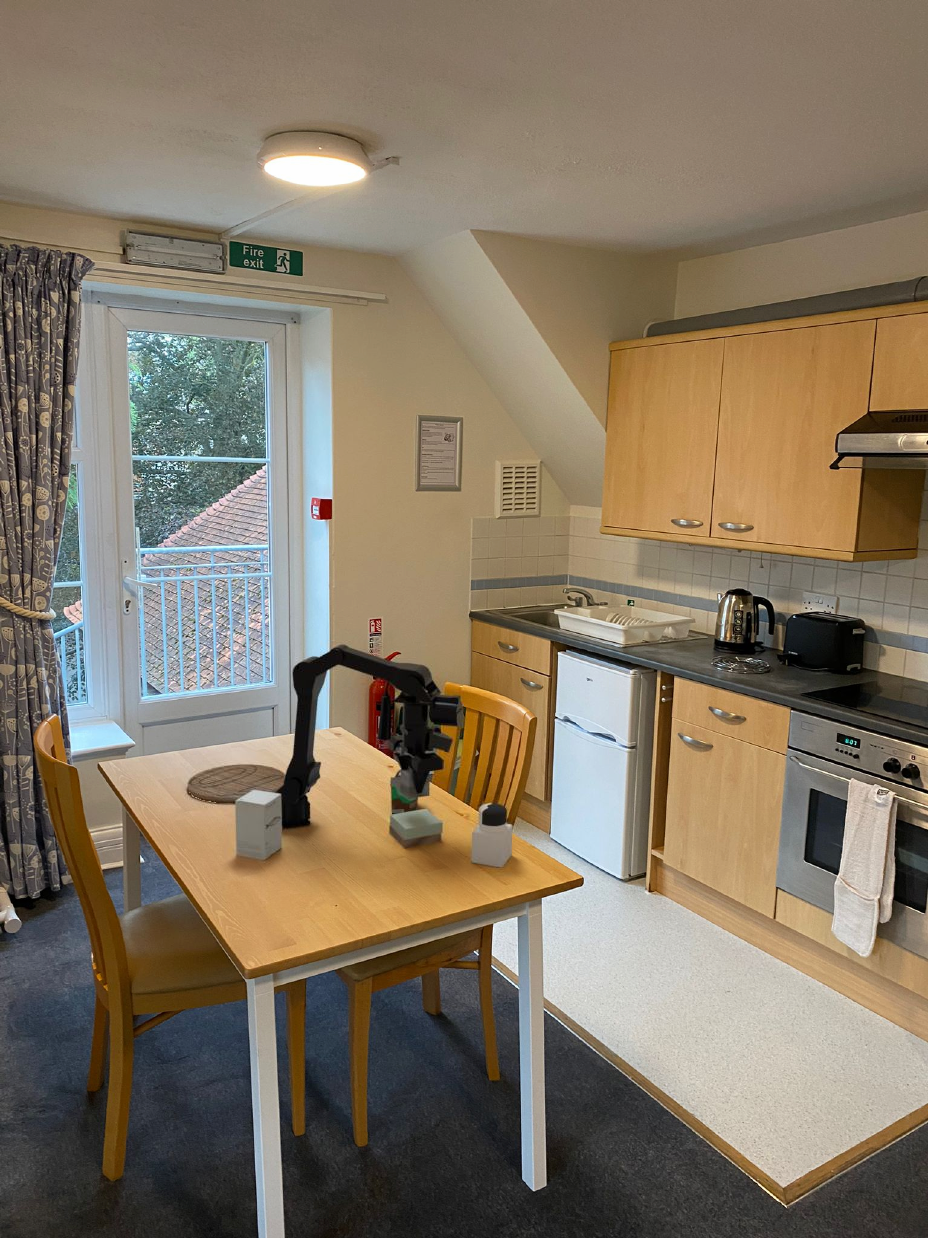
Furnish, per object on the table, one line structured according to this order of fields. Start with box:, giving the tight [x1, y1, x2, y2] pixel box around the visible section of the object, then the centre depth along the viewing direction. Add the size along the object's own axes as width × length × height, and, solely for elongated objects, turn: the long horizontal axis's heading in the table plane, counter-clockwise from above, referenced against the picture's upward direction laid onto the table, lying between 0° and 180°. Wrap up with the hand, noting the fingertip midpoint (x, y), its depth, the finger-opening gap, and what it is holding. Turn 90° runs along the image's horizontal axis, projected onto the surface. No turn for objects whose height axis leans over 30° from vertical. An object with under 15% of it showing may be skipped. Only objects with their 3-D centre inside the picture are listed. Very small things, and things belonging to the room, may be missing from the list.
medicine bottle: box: [470, 802, 513, 869], centre depth 201 cm, size 7×7×12 cm
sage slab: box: [389, 808, 444, 840], centre depth 212 cm, size 9×9×2 cm
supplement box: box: [234, 790, 283, 861], centre depth 202 cm, size 7×7×13 cm
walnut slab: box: [388, 824, 442, 849], centre depth 212 cm, size 9×9×2 cm
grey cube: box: [400, 769, 431, 799], centre depth 210 cm, size 5×5×5 cm
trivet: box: [186, 763, 286, 804], centre depth 242 cm, size 25×25×2 cm
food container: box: [389, 769, 419, 815], centre depth 228 cm, size 12×6×10 cm, turn 168°
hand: (414, 789), depth 210 cm, fingers closed on grey cube, 5 cm apart
